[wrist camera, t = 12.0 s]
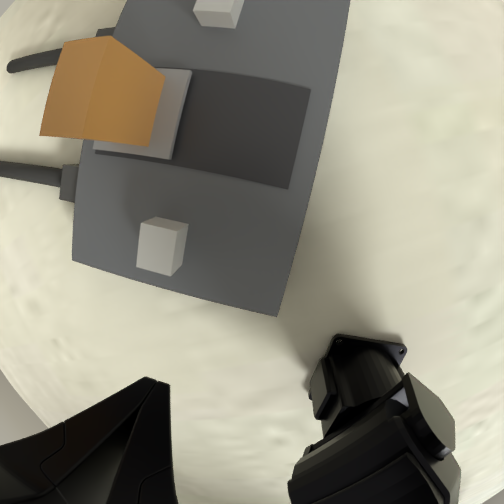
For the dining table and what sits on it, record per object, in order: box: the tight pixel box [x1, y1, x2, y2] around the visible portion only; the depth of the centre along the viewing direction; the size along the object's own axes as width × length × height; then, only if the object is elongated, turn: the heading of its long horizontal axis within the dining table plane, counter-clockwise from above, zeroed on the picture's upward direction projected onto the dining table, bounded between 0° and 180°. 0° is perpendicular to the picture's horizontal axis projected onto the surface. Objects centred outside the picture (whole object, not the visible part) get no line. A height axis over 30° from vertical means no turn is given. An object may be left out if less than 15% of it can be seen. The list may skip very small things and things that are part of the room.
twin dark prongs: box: [0, 48, 62, 187], centre depth 17 cm, size 15×11×1 cm
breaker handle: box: [39, 35, 192, 160], centre depth 11 cm, size 5×5×6 cm
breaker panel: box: [59, 0, 350, 317], centre depth 15 cm, size 16×20×5 cm
